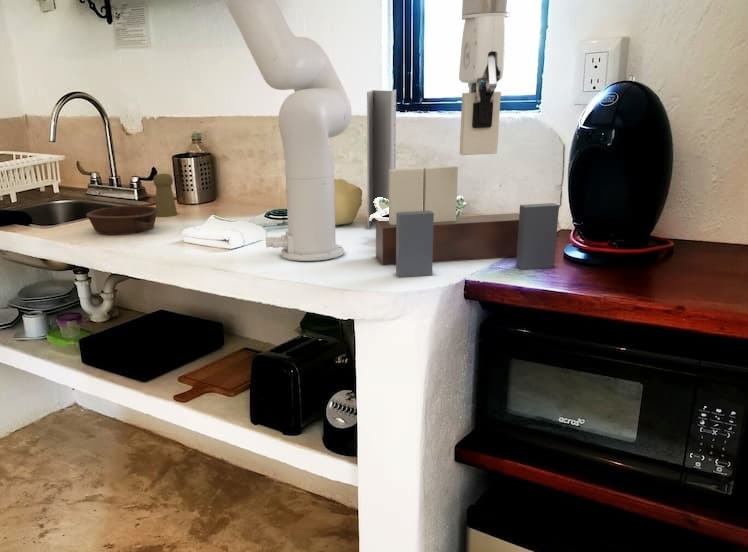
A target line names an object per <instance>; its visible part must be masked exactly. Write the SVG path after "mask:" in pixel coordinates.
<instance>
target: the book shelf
mask: <svg viewBox="0 0 748 552" xmlns="http://www.w3.org/2000/svg"><path fill="white" fill-rule="evenodd" d="M518 227H519V212H514V213H513V212H512V213H497V214H480V215H479V214H478V215H465V216H464V215H462V216H456V221H449V222H434V224H433V263H436V262H437V263H438V262H453V261H468V260H469V261H470V260H485V259H500V258H501V259H503V258H517V243H518ZM375 258H376V259H377V260H378V261H379V263H380V264H381V265H382V266H388V265H389V266H390V265H396V225H390V224H389V221H379V222H378V221H375Z"/></svg>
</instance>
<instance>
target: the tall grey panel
mask: <svg viewBox="0 0 748 552" xmlns="http://www.w3.org/2000/svg"><path fill="white" fill-rule="evenodd" d="M366 147H367V148H366V152H367V153H366V166H367V167H366V172H367V174H366V176H367V177H366V179H367V181H366V182H367V183H366V184H367V187H366V189H367V190H366V192H367V193H366V195H367V196H366V197H367V199H366V200H367V202H366V203H367V205H366V207H367V208H366V209H367V210H366V211H367V230H370V227H371V225H372V223H373V221H372V222H371V221H369V217H370V215H371V214H373V213H375V212H376V211H377V210H376V208H375V206H374V203H373V201H374V199H375V198H377V197H383V198H386V199H388V200H389V170H390V169H397V168H396V162H397V161H396V157H397V155H396V153H397V150H396V147H397V89H396V88H395V89H392V90H379V89H378V90H377V89H375V90H374V89H373V90H369V91H367V92H366Z"/></svg>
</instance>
